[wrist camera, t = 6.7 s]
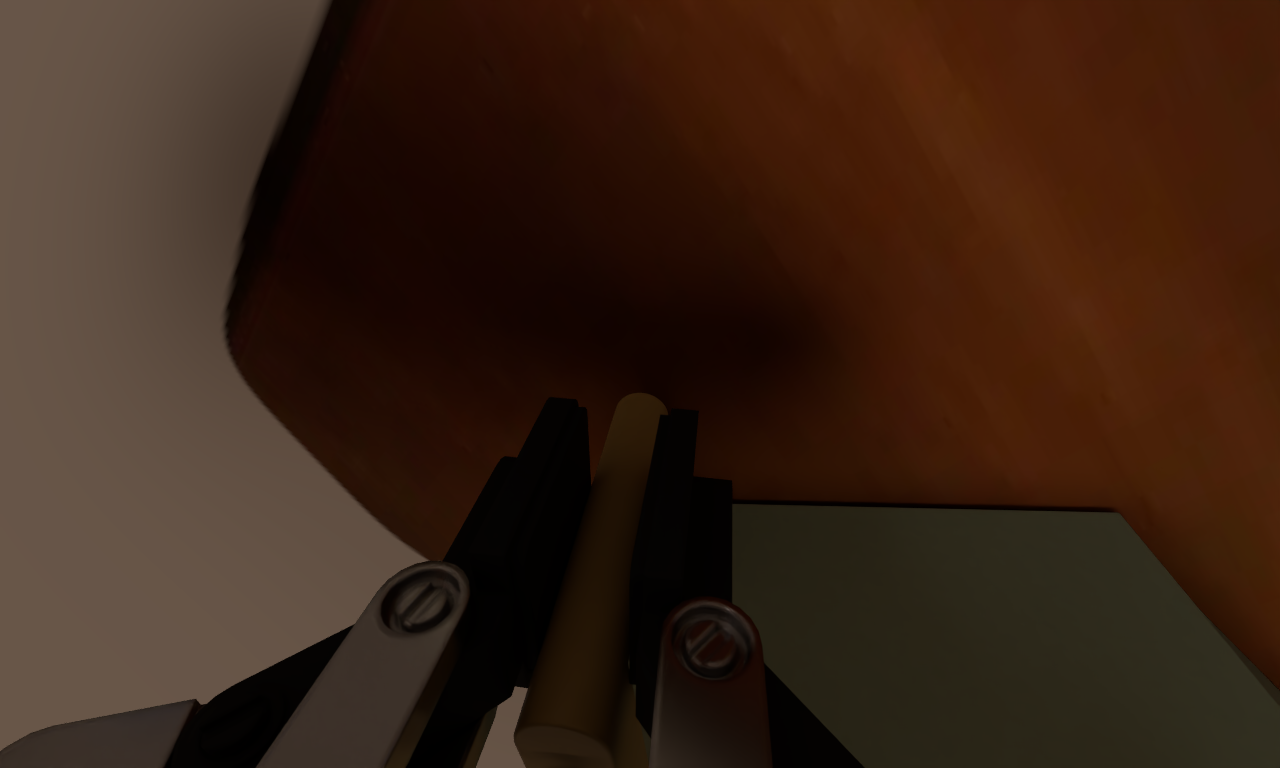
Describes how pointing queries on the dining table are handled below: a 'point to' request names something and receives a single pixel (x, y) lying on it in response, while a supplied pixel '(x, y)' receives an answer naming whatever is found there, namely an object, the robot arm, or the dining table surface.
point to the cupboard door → (914, 636)
